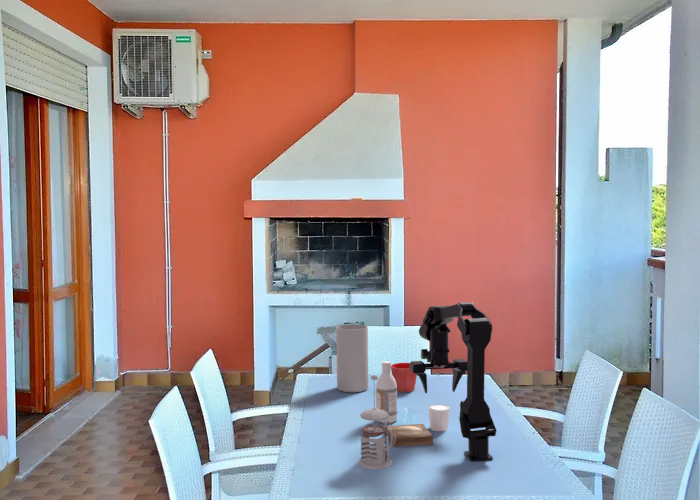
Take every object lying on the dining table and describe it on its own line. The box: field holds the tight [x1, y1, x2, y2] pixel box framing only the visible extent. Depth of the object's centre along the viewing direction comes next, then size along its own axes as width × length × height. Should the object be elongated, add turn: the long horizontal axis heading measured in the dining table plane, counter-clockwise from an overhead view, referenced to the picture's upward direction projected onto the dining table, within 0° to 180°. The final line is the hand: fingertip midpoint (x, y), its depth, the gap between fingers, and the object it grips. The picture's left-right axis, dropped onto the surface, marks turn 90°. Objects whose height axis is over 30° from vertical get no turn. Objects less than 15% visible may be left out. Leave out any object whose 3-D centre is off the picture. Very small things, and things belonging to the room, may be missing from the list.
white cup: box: [427, 404, 451, 432], centre depth 214 cm, size 7×7×7 cm
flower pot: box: [391, 362, 418, 393], centre depth 261 cm, size 11×11×10 cm
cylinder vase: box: [335, 323, 369, 393], centre depth 263 cm, size 12×12×25 cm
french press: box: [357, 374, 396, 470], centre depth 184 cm, size 10×12×25 cm
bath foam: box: [375, 360, 398, 424], centre depth 222 cm, size 7×7×20 cm
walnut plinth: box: [386, 423, 434, 448], centre depth 205 cm, size 12×12×3 cm
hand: (439, 392), depth 214 cm, fingers open, 9 cm apart
